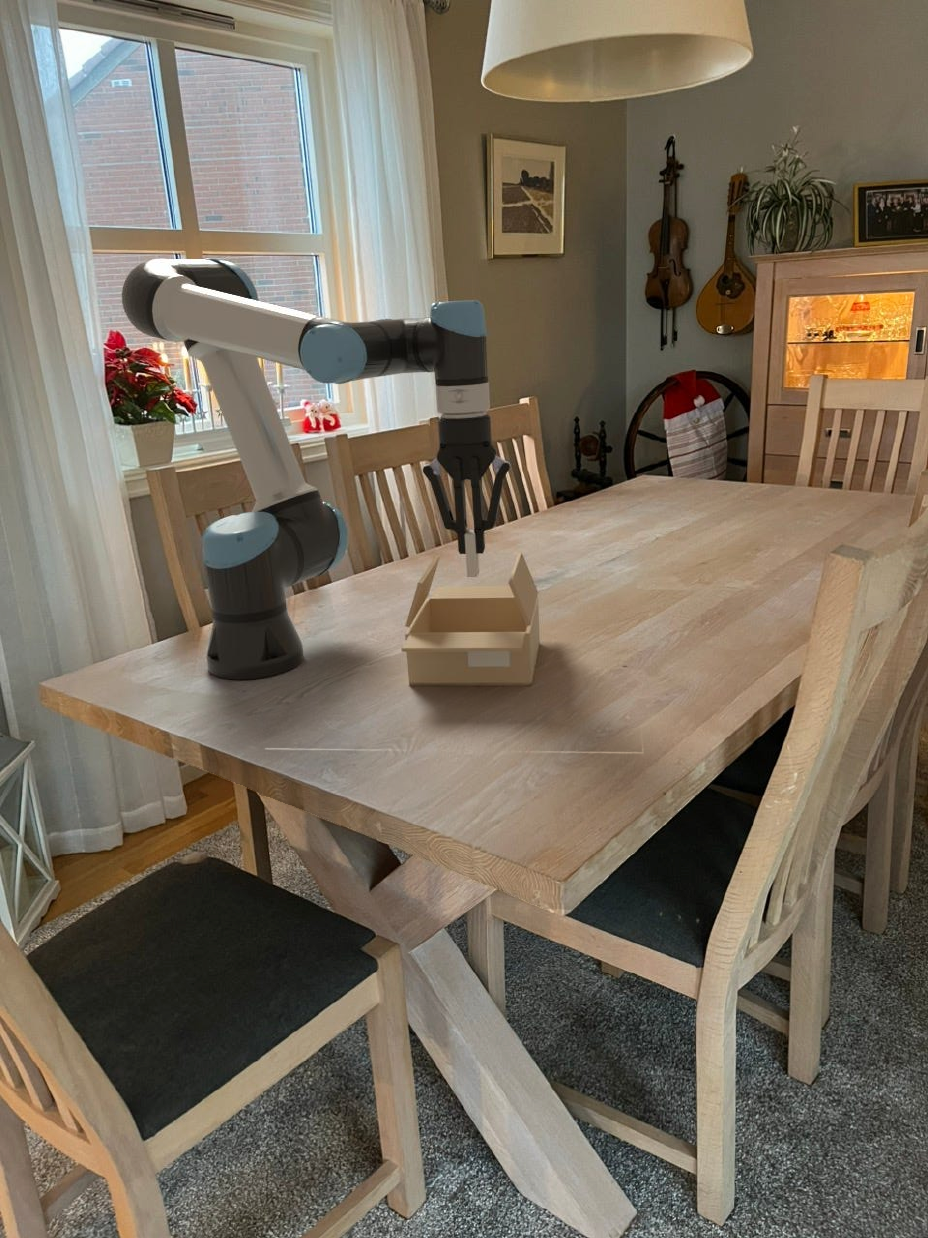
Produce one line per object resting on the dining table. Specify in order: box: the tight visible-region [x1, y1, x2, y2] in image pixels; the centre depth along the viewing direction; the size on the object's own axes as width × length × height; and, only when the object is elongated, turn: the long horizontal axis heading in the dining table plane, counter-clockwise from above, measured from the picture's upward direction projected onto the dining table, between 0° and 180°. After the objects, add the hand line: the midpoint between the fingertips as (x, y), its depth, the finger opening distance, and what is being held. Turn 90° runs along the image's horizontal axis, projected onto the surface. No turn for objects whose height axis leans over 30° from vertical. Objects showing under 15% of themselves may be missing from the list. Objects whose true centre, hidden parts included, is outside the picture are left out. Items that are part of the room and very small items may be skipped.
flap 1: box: [405, 553, 441, 628], centre depth 147 cm, size 1×16×7 cm, turn 172°
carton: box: [401, 585, 541, 687], centre depth 148 cm, size 18×30×8 cm, turn 172°
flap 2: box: [508, 552, 539, 626], centre depth 145 cm, size 1×16×7 cm, turn 172°
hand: (473, 574), depth 145 cm, fingers closed
